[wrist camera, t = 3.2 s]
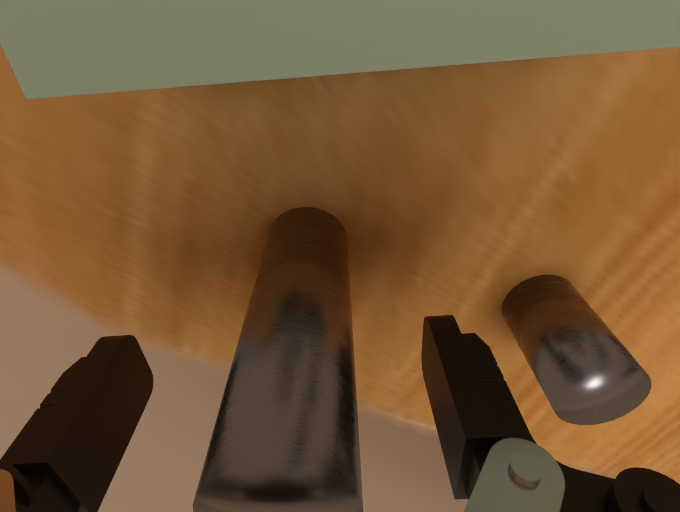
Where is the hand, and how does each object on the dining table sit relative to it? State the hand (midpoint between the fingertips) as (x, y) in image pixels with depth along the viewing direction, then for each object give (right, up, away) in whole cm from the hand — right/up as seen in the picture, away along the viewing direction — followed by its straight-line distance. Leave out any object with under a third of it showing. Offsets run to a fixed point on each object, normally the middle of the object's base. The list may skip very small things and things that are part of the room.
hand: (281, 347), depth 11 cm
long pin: (0, +3, +5) cm, 6 cm away
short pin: (+11, 0, +7) cm, 13 cm away
